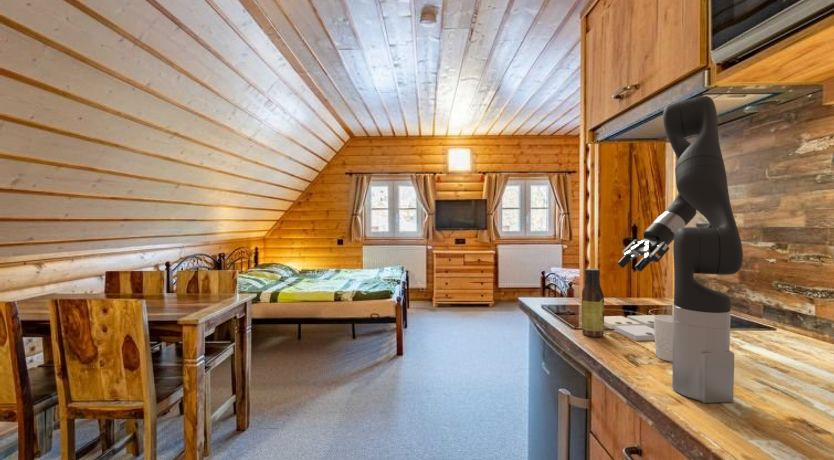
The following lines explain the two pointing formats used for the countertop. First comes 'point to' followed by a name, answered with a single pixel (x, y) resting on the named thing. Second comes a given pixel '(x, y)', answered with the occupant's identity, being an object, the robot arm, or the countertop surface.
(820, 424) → the countertop surface
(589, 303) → the sauce bottle
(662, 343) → the white cup
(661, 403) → the countertop surface
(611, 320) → the tile two
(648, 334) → the tile one
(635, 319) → the tile three
